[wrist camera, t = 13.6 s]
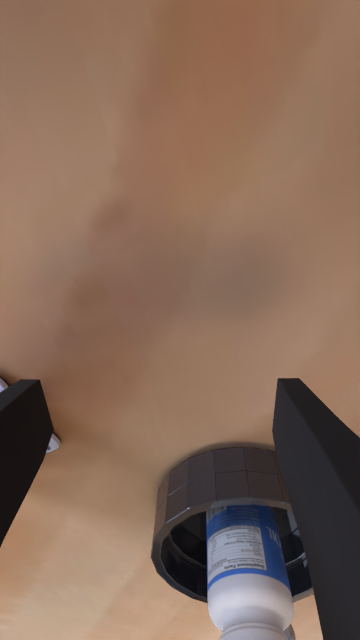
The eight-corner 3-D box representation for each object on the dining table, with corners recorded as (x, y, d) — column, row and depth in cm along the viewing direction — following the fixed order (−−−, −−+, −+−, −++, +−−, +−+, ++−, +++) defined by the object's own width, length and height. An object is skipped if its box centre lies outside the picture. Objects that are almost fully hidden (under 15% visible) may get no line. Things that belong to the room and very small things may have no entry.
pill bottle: (274, 525, 28) (308, 692, 20) (210, 529, 29) (215, 692, 20) (270, 481, 26) (306, 649, 17) (201, 487, 27) (202, 650, 18)
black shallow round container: (204, 562, 32) (205, 621, 28) (127, 475, 27) (114, 531, 23) (345, 525, 29) (368, 587, 25) (285, 418, 24) (303, 472, 20)
